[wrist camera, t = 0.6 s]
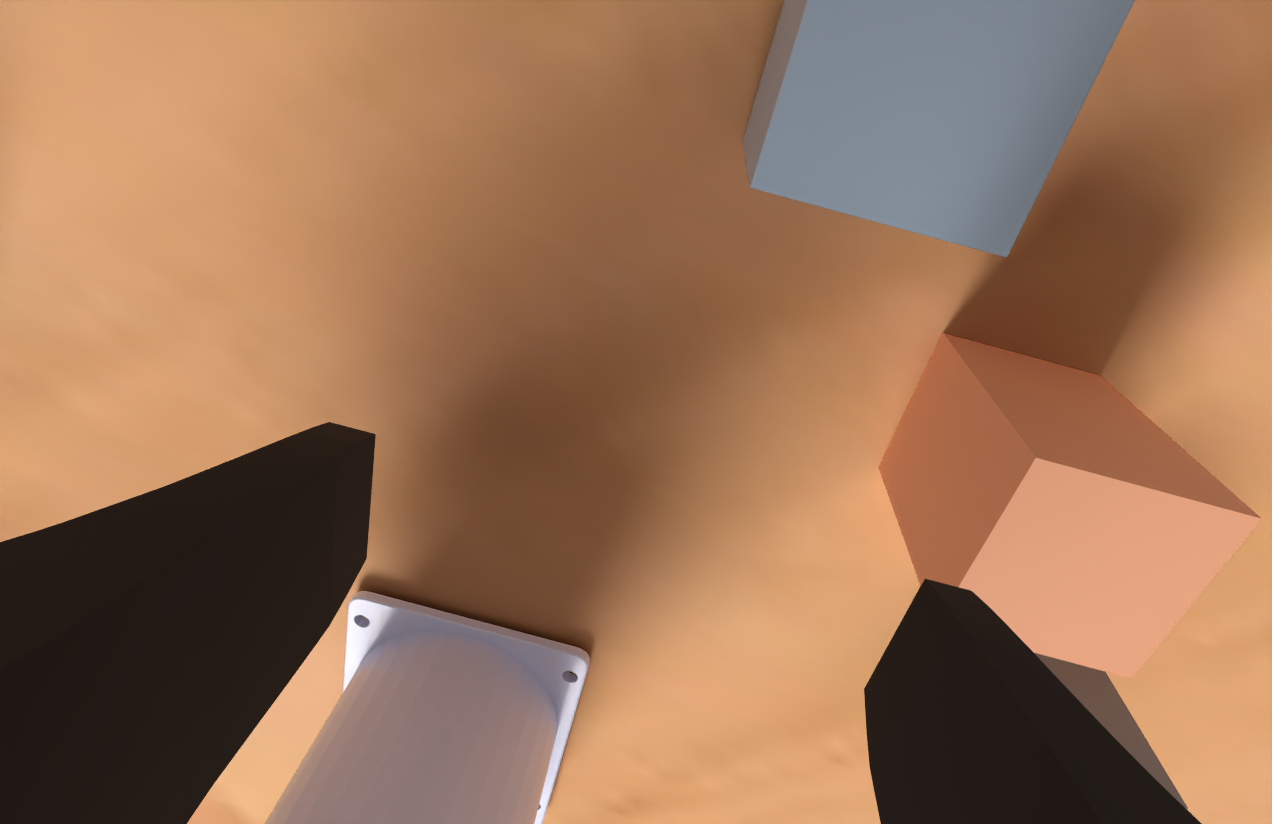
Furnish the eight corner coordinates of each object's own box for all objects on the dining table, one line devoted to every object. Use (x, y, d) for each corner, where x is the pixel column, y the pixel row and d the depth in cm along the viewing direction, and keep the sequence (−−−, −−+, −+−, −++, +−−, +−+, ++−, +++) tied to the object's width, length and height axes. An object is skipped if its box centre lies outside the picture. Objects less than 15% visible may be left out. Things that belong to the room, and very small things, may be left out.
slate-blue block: (914, 188, 16) (1006, 257, 11) (742, 140, 16) (750, 187, 11) (997, -14, 14) (1159, -50, 9) (803, -67, 14) (849, -136, 9)
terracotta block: (1020, 504, 19) (1131, 678, 14) (878, 466, 19) (934, 625, 14) (1100, 375, 18) (1261, 518, 12) (942, 332, 17) (1036, 457, 12)
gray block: (1004, 706, 23) (1090, 907, 17) (883, 673, 23) (930, 865, 17) (1070, 614, 21) (1187, 808, 15) (937, 578, 21) (1009, 760, 15)
